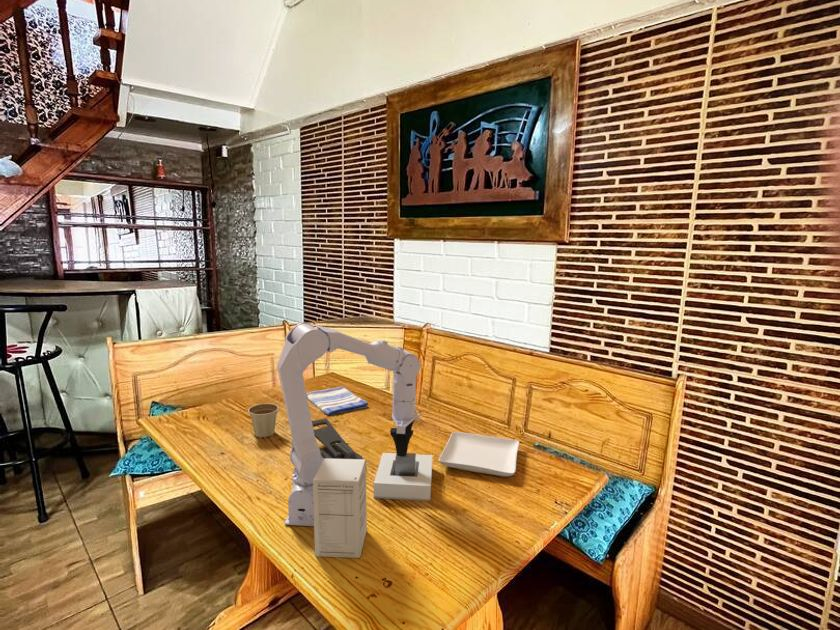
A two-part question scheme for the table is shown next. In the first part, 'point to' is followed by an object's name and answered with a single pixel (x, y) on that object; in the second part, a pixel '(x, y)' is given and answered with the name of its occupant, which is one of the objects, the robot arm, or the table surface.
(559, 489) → the table surface
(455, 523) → the table surface
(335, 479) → the supplement box
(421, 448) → the table surface
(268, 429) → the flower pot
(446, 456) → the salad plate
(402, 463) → the bracket
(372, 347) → the robot arm
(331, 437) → the zipper pull
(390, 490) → the well block
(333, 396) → the dish towel
